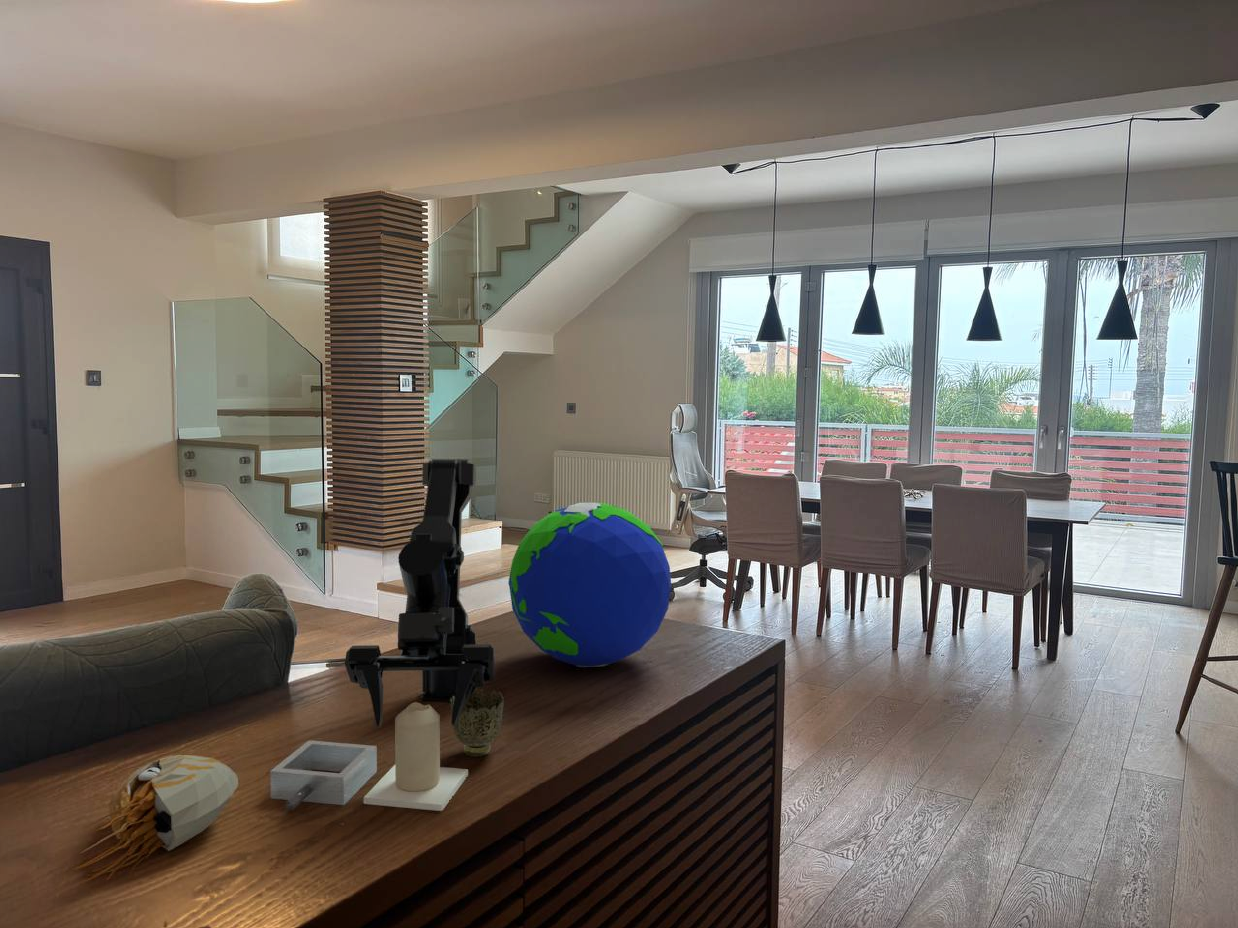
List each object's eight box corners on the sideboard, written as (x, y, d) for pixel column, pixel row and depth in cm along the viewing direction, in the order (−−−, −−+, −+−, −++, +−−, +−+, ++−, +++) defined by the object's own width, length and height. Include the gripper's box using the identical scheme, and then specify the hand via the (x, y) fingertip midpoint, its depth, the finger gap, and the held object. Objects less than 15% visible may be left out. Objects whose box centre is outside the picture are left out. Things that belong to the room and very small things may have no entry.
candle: (391, 777, 115) (390, 702, 114) (433, 769, 118) (433, 695, 117) (400, 795, 110) (400, 717, 109) (444, 787, 113) (444, 710, 112)
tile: (468, 775, 118) (468, 769, 118) (441, 810, 108) (441, 804, 108) (396, 768, 120) (396, 763, 120) (363, 803, 110) (363, 797, 110)
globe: (704, 668, 164) (708, 505, 161) (574, 704, 144) (576, 520, 142) (601, 631, 186) (603, 488, 183) (477, 658, 167) (477, 499, 164)
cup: (513, 746, 127) (513, 692, 127) (489, 767, 121) (489, 710, 120) (466, 739, 130) (466, 685, 129) (440, 759, 123) (440, 702, 122)
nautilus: (127, 911, 88) (14, 890, 93) (272, 801, 108) (173, 788, 113) (117, 836, 87) (2, 818, 92) (265, 739, 107) (165, 729, 112)
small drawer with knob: (376, 771, 119) (376, 745, 119) (328, 820, 105) (327, 792, 105) (309, 765, 120) (308, 740, 120) (252, 813, 107) (252, 785, 107)
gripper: (346, 584, 115) (327, 699, 105) (493, 584, 116) (488, 696, 106) (359, 627, 123) (343, 737, 113) (496, 626, 125) (492, 734, 115)
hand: (415, 725), depth 112 cm, fingers open, 9 cm apart
